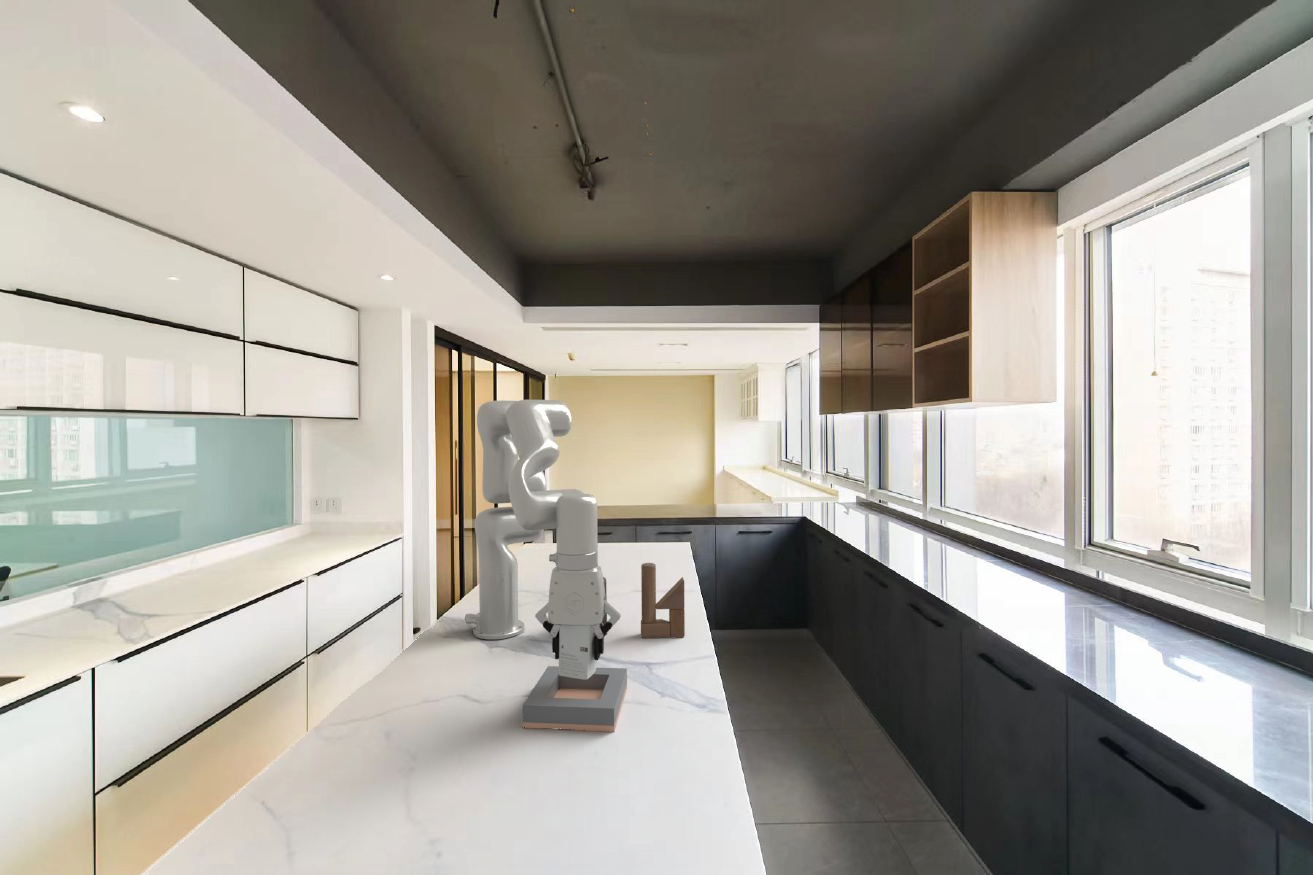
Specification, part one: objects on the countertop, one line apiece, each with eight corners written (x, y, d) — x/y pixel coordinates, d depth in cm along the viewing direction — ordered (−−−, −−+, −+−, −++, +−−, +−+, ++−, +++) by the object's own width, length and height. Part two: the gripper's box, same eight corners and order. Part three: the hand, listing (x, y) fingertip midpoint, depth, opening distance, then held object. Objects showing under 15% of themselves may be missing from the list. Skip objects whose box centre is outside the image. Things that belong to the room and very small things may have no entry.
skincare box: (557, 676, 103) (557, 610, 103) (568, 666, 107) (568, 603, 107) (588, 680, 101) (588, 613, 101) (598, 670, 105) (598, 606, 105)
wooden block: (684, 637, 139) (684, 565, 138) (641, 638, 138) (640, 566, 138) (683, 632, 142) (682, 561, 142) (640, 633, 142) (640, 562, 141)
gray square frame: (522, 727, 97) (522, 704, 97) (548, 685, 113) (548, 665, 113) (614, 731, 96) (614, 708, 96) (627, 688, 112) (626, 668, 112)
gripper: (525, 565, 101) (526, 663, 101) (620, 566, 99) (621, 666, 100) (537, 555, 108) (538, 647, 109) (626, 556, 107) (627, 650, 107)
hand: (578, 655), depth 104 cm, fingers closed on skincare box, 6 cm apart
